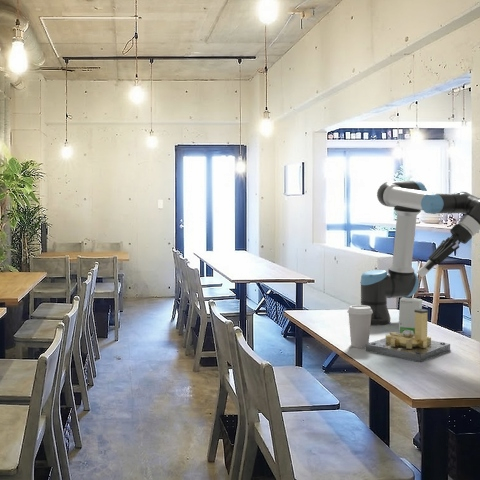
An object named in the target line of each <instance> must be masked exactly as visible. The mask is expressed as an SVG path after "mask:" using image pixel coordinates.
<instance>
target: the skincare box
mask: <svg viewBox="0 0 480 480" xmlns="http://www.w3.org/2000/svg"><path fill="white" fill-rule="evenodd" d="M417 309H423V299H421V298H414V297H402V298H401V297H400V299H399V311H398V312H399V316H398V333H403V330H412V331H413V333H414V334H415V312H414V310H417Z"/></svg>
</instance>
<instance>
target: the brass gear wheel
mask: <svg viewBox="0 0 480 480" xmlns="http://www.w3.org/2000/svg"><path fill="white" fill-rule="evenodd" d="M414 312H415V334H414V333H413V337H405V336H403V333H399V332H390V333H389V334H385V338H386V343H391V346H394V347H396V346H402V347H406V348H409V349H412V347H421V348H426V347H427V345H431V341H432V337H431V336H428V314H429V310H428V309H424V308H422V309H417V310H414Z"/></svg>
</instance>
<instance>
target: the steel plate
mask: <svg viewBox="0 0 480 480" xmlns="http://www.w3.org/2000/svg"><path fill="white" fill-rule="evenodd" d="M403 336H405V337H413V331H412V330H403ZM365 351H366V352H371V353H375V354H379V355H380V354H381V355H385V356H389V357H393V358H394V357H395V358H399V359H403V360H408V361H412V360H413V362H418V363H422V362H424V361H427V360H430V359H433V358H434V357H437V356H440V355H443V354H446V353H448V352H450V351H451V343H447V342H442V341H436V340H431V345H427V347H426V348H421V347H412V349H409V348H406V347H402V346H396V347H394V346H391V343H386V337H385V338H382V339H379V340H374V341H372V342H369V343H368V344H366V347H365Z"/></svg>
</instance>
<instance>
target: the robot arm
mask: <svg viewBox="0 0 480 480" xmlns="http://www.w3.org/2000/svg"><path fill="white" fill-rule="evenodd" d="M427 190H428V189H427V188H426V186H425V184H424V183H422V182H420V181H415V180H388V181H386V182H383V183H382V184H381V185H380V186H379V188H378V189H377V192H376V196H377V200H378V201H379V203H380V204H381V205H383V206H384V207H389V208H393V211H395V213H396V224H395V231H394V232H395V233H394V243H393V253H392V255H393V256H392V264H391V265H390V266H389V267H388V271H387V270H384V269H375V270H373V269H372V270H367V271H365V272H363V273H362V274H361V278H360V305H365V306H370V307H371V310H372V311H373V313H372V314H371V324H370V326H371V325H372V326H373V325H374V326H377V325H378V326H379V325H380V326H381V325H388V324H391V315H390V312H389V309H388V302H387V301H388V299H396V298H397V299H398V298H400V299H401V298H402V297H405V298H411V297H413V296H414V295H415V294H416V293H417V291H418V289H419V283H420V281H419V276H420V277H421V278H424V277H425V276H426V275H427V274H428V273H429V272H430V271H431V270H433V268H434V267H435V266H437V265H440V264H441V263H442V262H444V260H446V259H447V258H448V257H449V256H450V255H452V253H454V252H455V251H456V250H458V249H459V248H460V244H461V243H462V244H467V243H468V242H469V241H470V240H471V239H472V238H473V236H476V234H479V233H480V197H478V196H475V195H473V194H471V193H468V192H467V191H462V190H458V191H456V192H454V193H437V192H430V191H427ZM421 211H423V212H424V213H425V214H431V215H436V214H464V215H463V217H462V218H461V219H459V220H458V222H457V223H456V224H455V225H454V226H452V228H451V229H449V231H450V234H451V236H450V237H447V238H446V239H445V240H444V239H443V240H442V241H441V242H440V244H439V245H438V247H437V248H436V249H434V251H433V252H432V253H431V254H430V256H428V260H427V261H426V262H425V263H424V264H423V265H422V266H421V267H420V268H419V269H418V270H417V271H416V272H415V269H414V267H412V264H413V256H414V246H415V235H416V225H417V217H418V215H419V214H420V213H421ZM417 274H418V275H417Z"/></svg>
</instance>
